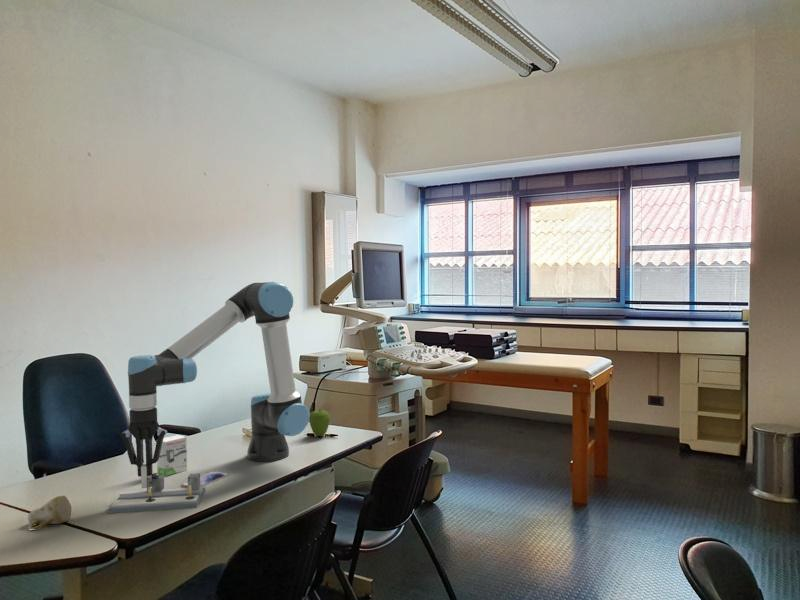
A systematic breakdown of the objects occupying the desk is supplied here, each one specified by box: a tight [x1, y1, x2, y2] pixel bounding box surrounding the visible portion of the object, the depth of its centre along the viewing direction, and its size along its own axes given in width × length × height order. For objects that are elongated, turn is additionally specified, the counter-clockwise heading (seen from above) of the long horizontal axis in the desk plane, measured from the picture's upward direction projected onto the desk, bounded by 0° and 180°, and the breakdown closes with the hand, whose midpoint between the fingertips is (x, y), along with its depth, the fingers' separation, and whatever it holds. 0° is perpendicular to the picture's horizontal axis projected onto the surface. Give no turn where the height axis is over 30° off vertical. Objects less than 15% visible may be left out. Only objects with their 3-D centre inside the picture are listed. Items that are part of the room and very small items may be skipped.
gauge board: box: [107, 473, 207, 514], centre depth 170 cm, size 24×13×6 cm, turn 98°
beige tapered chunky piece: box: [27, 495, 73, 530], centre depth 155 cm, size 8×10×10 cm
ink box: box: [156, 434, 188, 477], centre depth 197 cm, size 9×5×12 cm, turn 141°
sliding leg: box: [146, 472, 165, 499], centre depth 170 cm, size 4×8×5 cm, turn 8°
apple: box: [309, 409, 331, 437], centre depth 241 cm, size 9×8×12 cm
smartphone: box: [180, 470, 230, 488], centre depth 188 cm, size 7×1×15 cm
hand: (145, 486), depth 172 cm, fingers closed
